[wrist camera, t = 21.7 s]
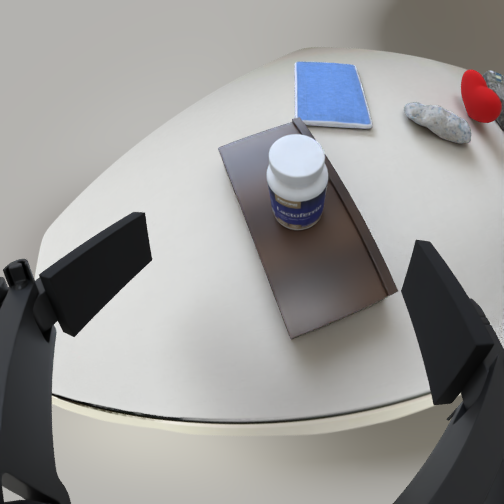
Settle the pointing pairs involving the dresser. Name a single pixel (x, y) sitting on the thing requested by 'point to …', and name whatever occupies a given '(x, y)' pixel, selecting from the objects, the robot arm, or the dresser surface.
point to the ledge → (307, 241)
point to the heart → (479, 98)
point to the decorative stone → (439, 122)
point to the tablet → (330, 95)
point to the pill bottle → (297, 181)
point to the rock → (496, 90)
